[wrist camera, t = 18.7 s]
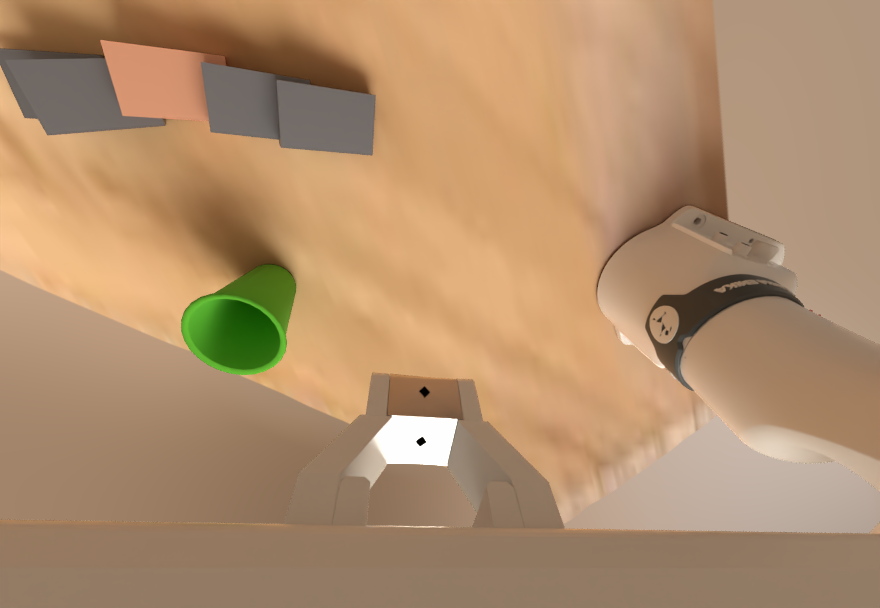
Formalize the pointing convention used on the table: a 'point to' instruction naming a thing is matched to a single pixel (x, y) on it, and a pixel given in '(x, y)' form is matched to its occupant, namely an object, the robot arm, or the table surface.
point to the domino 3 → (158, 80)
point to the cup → (242, 322)
